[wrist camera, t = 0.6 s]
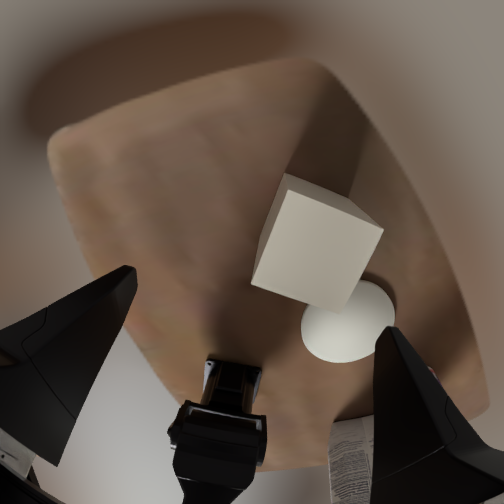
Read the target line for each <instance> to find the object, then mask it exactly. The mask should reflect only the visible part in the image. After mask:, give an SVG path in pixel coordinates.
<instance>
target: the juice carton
mask: <svg viewBox="0 0 504 504" xmlns="http://www.w3.org/2000/svg"><path fill="white" fill-rule="evenodd" d="M373 441H374V415H370V416H366V417H362V418H357V419H351V420H345V421H339V422H335V423H333V424H332V427H331V432H330V437H329V442H328V462H329V476H330V490H331V504H370V493H371V484H372V467H373Z"/></svg>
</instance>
